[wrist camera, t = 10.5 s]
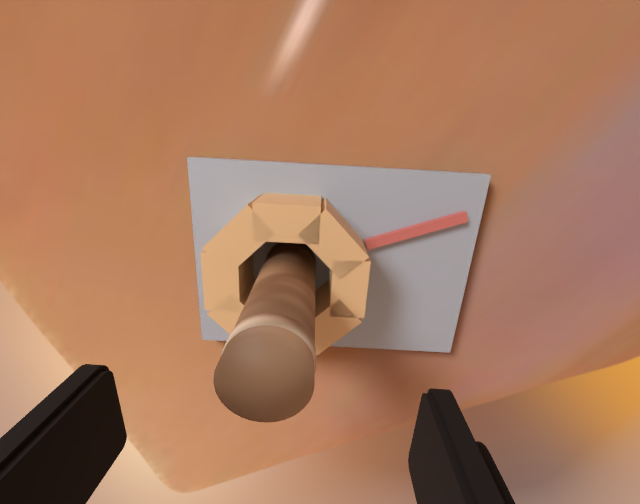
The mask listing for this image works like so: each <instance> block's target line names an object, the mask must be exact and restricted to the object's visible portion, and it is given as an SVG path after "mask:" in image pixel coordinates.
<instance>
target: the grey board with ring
mask: <svg viewBox="0 0 640 504" xmlns="http://www.w3.org/2000/svg"><path fill="white" fill-rule="evenodd" d="M187 162H188V174H189V186H190V198H191V210H192V223H193V235H194V247H195V259H196V271H197V283H198V295H199V307H200V319H201V332H202V340H217V341H227V339H228V337H229V335H230V333H231V331H232V330H233V329H234V327H235V325H236V323H237V320H238V318H239V316H240V314H241V312H242V309H243V307H244V305H245V303H246V301H247V299H248V296H249V294H250V292H251V290H252V288H253V285H254V283H255V281H256V279H257V277H258V274H259V272H260V270H261V268H262V266H263V264H264V261H265V259H266V257H267V255H268V253H269V251H270V249H271V248H272V247H273V246H274V245H275V244H277V243H278V242H282V243H301V244H306V245H307V246H308V247H309V248H310V249H311V250H312V251H313V253H314V256H315V259H316V290H315V348H316V355H319V354H320V353H321V352H323V351H324V350H326V349H327V348H328V347H330V346H333V347H352V348H371V349H391V350H410V351H429V352H449V353H450V352H451V347H452V343H453V339H454V334H455V330H456V326H457V321H458V317H459V313H460V308H461V304H462V299H463V295H464V291H465V286H466V282H467V278H468V273H469V269H470V265H471V260H472V256H473V252H474V247H475V243H476V239H477V234H478V230H479V226H480V221H481V217H482V213H483V208H484V204H485V200H486V195H487V191H488V187H489V182H490V178H491V175H490V174H484V173H469V172H451V171H434V170H417V169H399V168H382V167H364V166H347V165H329V164H312V163H295V162H277V161H260V160H242V159H225V158H207V157H187Z"/></svg>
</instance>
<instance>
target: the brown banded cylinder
mask: <svg viewBox="0 0 640 504" xmlns="http://www.w3.org/2000/svg"><path fill="white" fill-rule="evenodd" d="M315 290H316V259H315V256H314V253H313V251H312V250H311V249H310V248H309V247H308V246H307V245H306V244H301V243H282V242H278V243H277V244H275V245H274V246H273V247H272V248H271V249H270V251H269V253H268V255H267V257H266V259H265V261H264V264H263V266H262V268H261V270H260V272H259V274H258V277H257V279H256V281H255V283H254V285H253V288H252V290H251V292H250V294H249V296H248V299H247V301H246V303H245V305H244V307H243V309H242V312H241V314H240V316H239V318H238V320H237V323H236V325H235V327H234V329H233V330H232V331H231V333H230V335H229V337H228V339H227V341H226V344H225V346H224V348H223V351H222V354H221V358H220V360H219V362H218V364H217V366H216V369H215V372H214V387H215V391H216V393H217V395H218V397H219V399H220V400H221V402H222V403H223V404H224V405H225V406H226V407H227V408H228V409H229V410H230V411H232V412H233V413H235V414H237V415H238V416H240V417H243V418H245V419H248V420H252V421H257V422H276V421H281V420H285V419H287V418H290V417H292V416H294V415H296V414H297V413H299V412H300V411H301V410H302V409H303V408H304V407H305V406H306V405H307V404H308V402H309V401H310V399H311V397H312V394H313V391H314V374H315V369H316V348H315Z"/></svg>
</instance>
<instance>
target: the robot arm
mask: <svg viewBox="0 0 640 504" xmlns="http://www.w3.org/2000/svg"><path fill="white" fill-rule="evenodd" d="M126 438H127V435H126V430H125V426H124V421H123V416H122V412H121V407H120V403H119V398H118V394H117V389H116V385H115V380H114V376H113V373H112V372H111V371H109V369H108V367H107V366H104V365H90V364H85V365H82V366H81V367H79V368H78V369H77V370H76V371H75V372H74V373H73V374H71V375H70V376H69V377H68V378H67V379H66V380H65V381H64V382H63V383H61V384H60V385H59V386H58V387H57V388H56V389H55V390H54V391H52V392H51V393H50V394H49V395H48V396H47V397H46V398H45V399H44V400H42V402H40V403H39V404H38V405H37V406H36V407H35V408H34V409H32V411H30V412H29V413H28V414H27V415H26V416H25V417H24V418H22V419H21V420H20V421H19V422H18V423H17V424H16V425H15V426H14V427H13V428H11V430H9V431H8V432H7V433H6V434H5V435H4V436H2V437H1V438H0V504H86V502H87V501H88V499H89V498H90V496H91V495H92V493H93V492H94V491H95V489H96V488H97V486H98V485H99V483H100V482H101V480H102V479H103V477H104V476H105V474H106V473H107V471H108V470H109V468H110V467H111V465H112V464H113V463H114V461H115V460H116V458H117V457H118V455H119V454H120V452H121V451H122V449H123V447H124V445H125V442H126ZM408 461H409V471H410V475H411V479H412V484H413V488H414V492H415V497H416V501H417V504H515V502H514V500H513V498H512V496H511V495H510V492H509V491H508V488H507V486H506V484H505V482H504V480H503V478H502V476H501V474H500V472H499V470H498V469H497V466H496V464H495V462H494V461H493V459H492V457H491V455H490V453H489V451H488V449H487V448H486V446H485V445H484V444H482V443H481V442H476V441H475V440H474V438H473V436H472V433H471V431H470V429H469V427H468V425H467V423H466V421H465V419H464V417H463V414H462V412H461V410H460V408H459V406H458V404H457V402H456V400H455V398H454V396H453V394H452V392H451V391H450V390H444V389H429V390H428V393H427V394H426V393H423V394H422V397H421V402H420V406H419V411H418V415H417V420H416V425H415V429H414V434H413V439H412V444H411V448H410V452H409V460H408Z"/></svg>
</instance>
